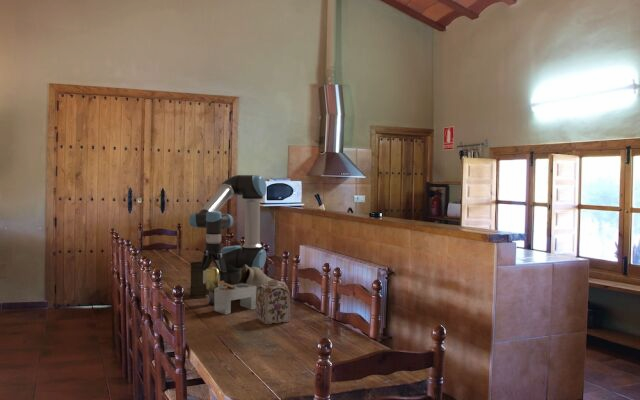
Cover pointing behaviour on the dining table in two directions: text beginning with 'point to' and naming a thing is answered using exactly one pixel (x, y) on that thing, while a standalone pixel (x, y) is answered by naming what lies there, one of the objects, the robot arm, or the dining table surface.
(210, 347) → the dining table surface
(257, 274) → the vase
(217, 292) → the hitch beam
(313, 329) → the dining table surface
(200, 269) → the container
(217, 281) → the keeper flap
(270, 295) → the decorative jar
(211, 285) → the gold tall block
